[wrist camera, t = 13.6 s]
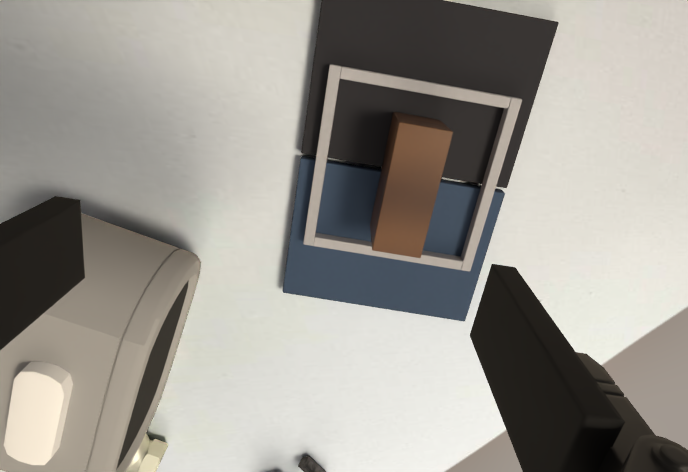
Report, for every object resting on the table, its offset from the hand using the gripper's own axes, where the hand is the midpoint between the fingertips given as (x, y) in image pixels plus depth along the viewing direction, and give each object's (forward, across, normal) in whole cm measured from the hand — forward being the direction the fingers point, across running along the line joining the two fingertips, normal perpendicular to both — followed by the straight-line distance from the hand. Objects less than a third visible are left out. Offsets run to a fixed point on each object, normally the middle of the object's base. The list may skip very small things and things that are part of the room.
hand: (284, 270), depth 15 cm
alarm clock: (+22, -15, -18) cm, 32 cm away
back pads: (+22, +6, -1) cm, 23 cm away
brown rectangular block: (+22, +6, -2) cm, 22 cm away
